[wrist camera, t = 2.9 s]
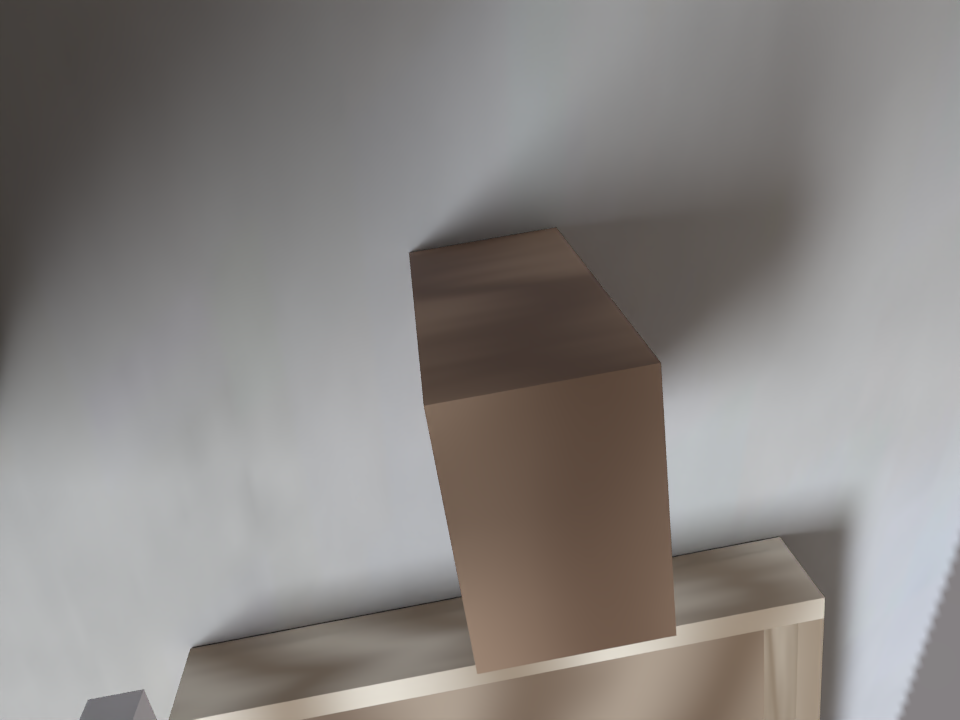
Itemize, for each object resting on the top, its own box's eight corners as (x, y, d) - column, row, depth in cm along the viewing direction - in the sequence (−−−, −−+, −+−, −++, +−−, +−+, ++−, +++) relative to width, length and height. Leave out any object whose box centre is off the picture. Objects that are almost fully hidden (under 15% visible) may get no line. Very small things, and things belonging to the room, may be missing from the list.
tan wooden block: (445, 444, 24) (477, 674, 16) (409, 252, 21) (424, 405, 13) (577, 420, 24) (676, 635, 16) (555, 227, 22) (660, 363, 13)
